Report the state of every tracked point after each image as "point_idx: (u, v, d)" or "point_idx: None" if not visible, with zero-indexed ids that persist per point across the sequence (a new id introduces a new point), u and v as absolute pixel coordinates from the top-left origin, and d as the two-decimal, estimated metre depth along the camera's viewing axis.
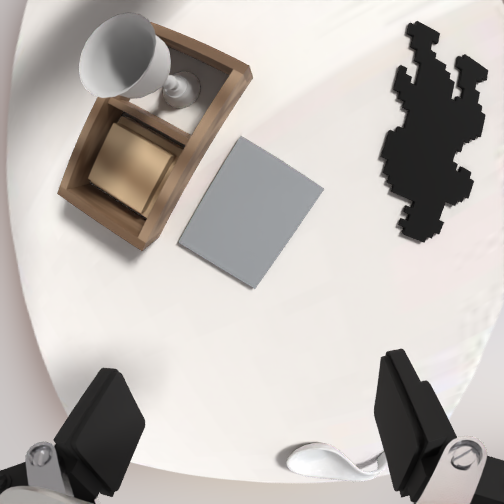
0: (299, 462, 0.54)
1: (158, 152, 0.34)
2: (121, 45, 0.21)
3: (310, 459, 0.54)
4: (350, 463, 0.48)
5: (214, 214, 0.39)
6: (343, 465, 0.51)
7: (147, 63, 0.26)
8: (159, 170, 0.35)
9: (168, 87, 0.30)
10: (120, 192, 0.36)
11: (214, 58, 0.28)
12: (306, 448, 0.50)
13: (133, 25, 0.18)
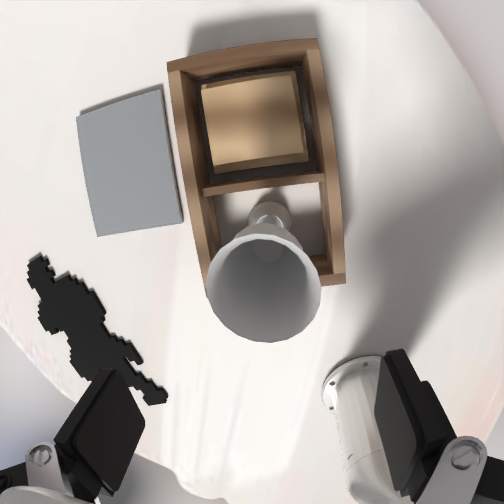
0: None
1: (227, 159, 0.30)
2: (303, 278, 0.22)
3: None
4: None
5: (148, 141, 0.33)
6: None
7: (284, 254, 0.27)
8: (213, 144, 0.29)
9: None
10: (238, 90, 0.28)
11: None
12: None
13: (284, 318, 0.21)
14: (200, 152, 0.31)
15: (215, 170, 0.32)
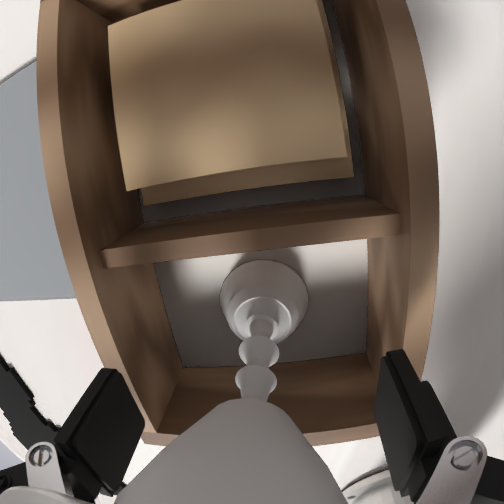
0: None
1: (156, 174, 0.12)
2: None
3: None
4: None
5: (37, 145, 0.15)
6: None
7: None
8: (126, 139, 0.12)
9: (247, 346, 0.13)
10: (185, 13, 0.10)
11: None
12: None
13: None
14: (111, 161, 0.13)
15: (145, 198, 0.14)
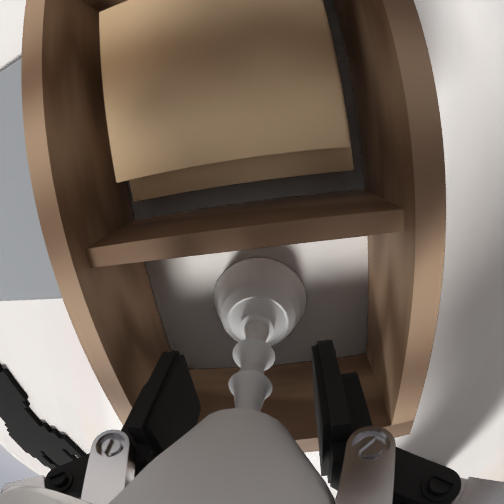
0: None
1: (147, 165, 0.11)
2: None
3: None
4: None
5: None
6: None
7: None
8: (116, 128, 0.11)
9: (241, 350, 0.12)
10: None
11: None
12: None
13: None
14: (99, 155, 0.12)
15: (134, 194, 0.14)
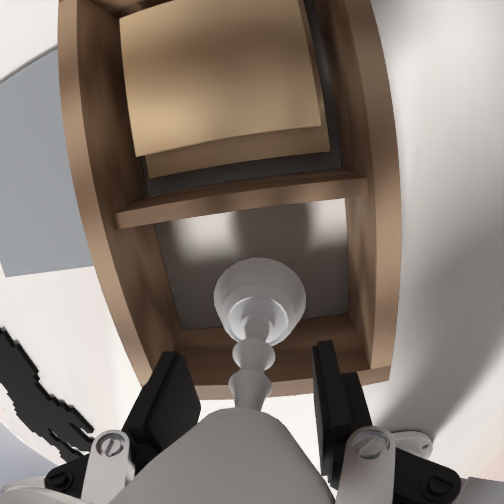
0: None
1: (162, 142, 0.14)
2: None
3: None
4: None
5: (50, 129, 0.17)
6: None
7: None
8: (136, 113, 0.13)
9: (241, 349, 0.12)
10: (186, 9, 0.11)
11: (199, 387, 0.16)
12: None
13: None
14: (121, 140, 0.15)
15: (150, 172, 0.16)
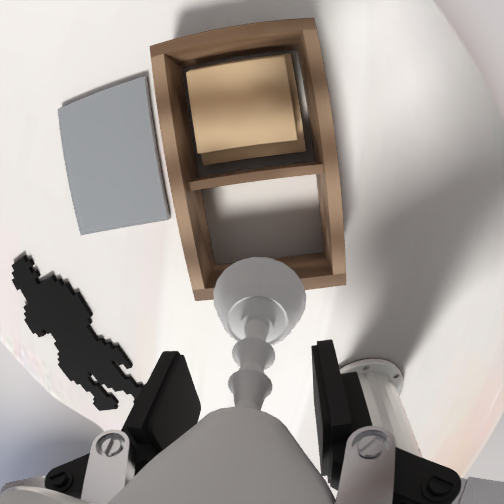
0: None
1: (213, 146, 0.27)
2: None
3: None
4: None
5: (132, 132, 0.29)
6: None
7: None
8: (198, 130, 0.26)
9: (241, 349, 0.12)
10: (226, 72, 0.24)
11: None
12: None
13: None
14: (187, 142, 0.28)
15: (204, 161, 0.29)
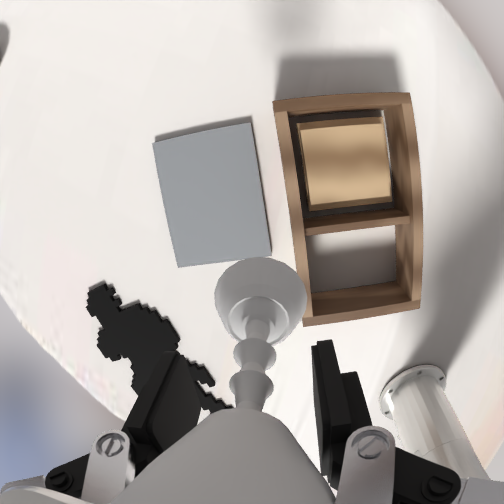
0: None
1: (324, 199, 0.32)
2: None
3: None
4: None
5: (239, 175, 0.35)
6: None
7: None
8: (311, 184, 0.32)
9: (242, 349, 0.12)
10: (335, 134, 0.30)
11: (334, 314, 0.34)
12: None
13: None
14: None
15: (310, 208, 0.35)
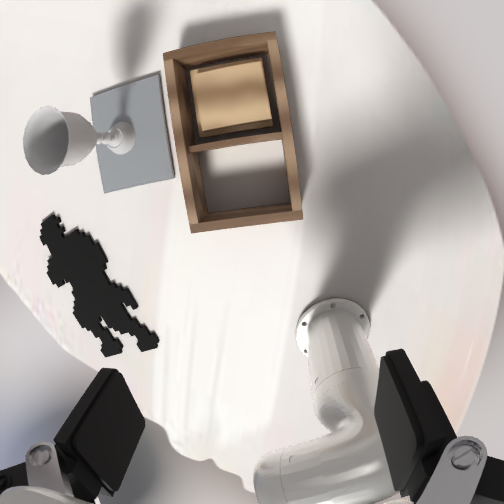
0: None
1: (213, 125, 0.37)
2: None
3: None
4: None
5: (148, 115, 0.40)
6: None
7: (96, 141, 0.33)
8: (202, 114, 0.37)
9: (101, 134, 0.36)
10: (220, 74, 0.35)
11: (217, 221, 0.39)
12: None
13: (62, 163, 0.27)
14: (188, 121, 0.39)
15: (200, 135, 0.40)
